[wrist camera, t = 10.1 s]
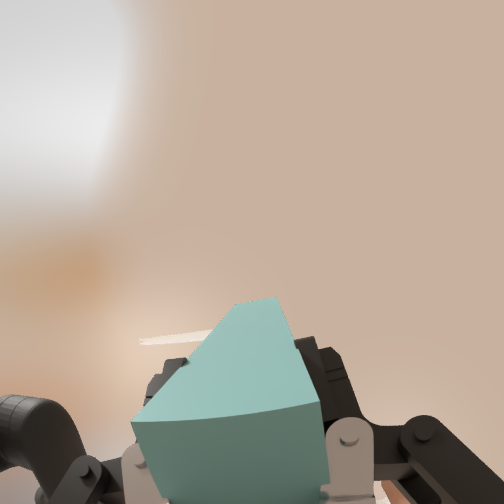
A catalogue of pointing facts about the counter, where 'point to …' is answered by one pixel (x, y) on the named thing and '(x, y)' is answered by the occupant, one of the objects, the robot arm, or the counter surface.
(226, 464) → the bar
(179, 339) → the counter surface
